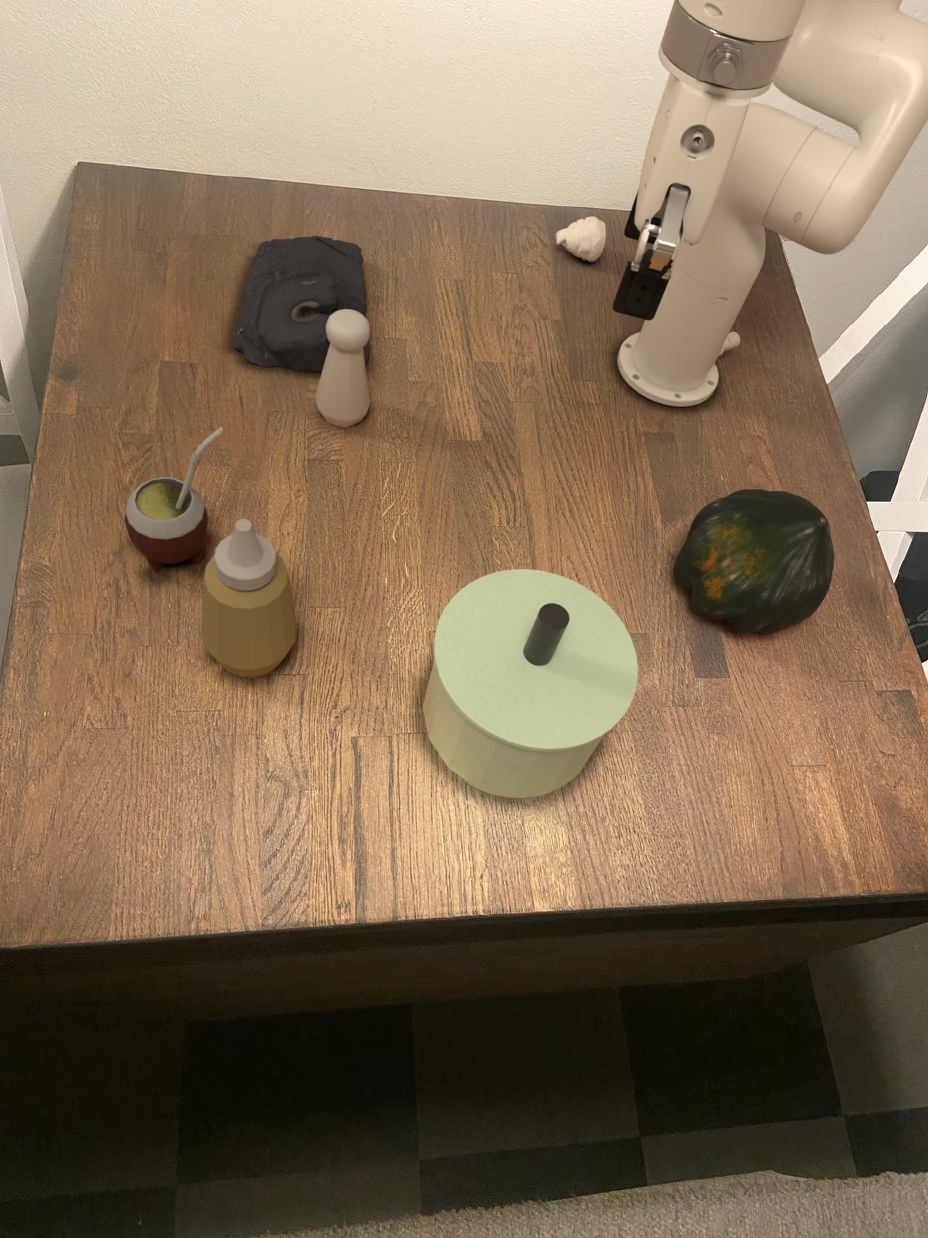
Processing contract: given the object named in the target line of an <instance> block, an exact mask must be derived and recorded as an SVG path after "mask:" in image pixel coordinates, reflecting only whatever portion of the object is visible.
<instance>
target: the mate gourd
mask: <svg viewBox="0 0 928 1238" xmlns="http://www.w3.org/2000/svg"><path fill="white" fill-rule="evenodd" d="M224 431H225V430H224V428H223V426H222V425H221V426H219V428H217V429H215V430H214V432H213V433H211V434H210V435H209V436H207V438H205V439H204V440H203V441H202V442H201V443H200V445H199V446H198V447H196V449H195V451H193V452H192V454H191V456H190V458H189V466H188V469H187V473H186V475H185V478H184V481H182V480H180V479H178V478H175V477H165V476H161V477H156V478H150V479H148V480H147V481H145V482H143V483H141V484H140V485H138V486H137V487H136V489H135V490H134V491H133V492H132V493H131V494H130V496H129V497H128V499H127V503H126V506H125V515H124V524H125V528H126V531H127V534H128V537H129V539H130V542H131V543H132V545H133V546H135V547H136V548H137V550H138V551H139V552H140V554H142V555H143V556H144V557H145V558H146V559H147V560H146V561H147V563H148V564H149V566H150V567H151V568H152V570H153V572H154V573H156V574H157V573H159V572H160V571H161V570H162V569H163V567H164V566H166V564H167V565H168V564H170V565H173V564H178V563H182V562H185V561H186V560H187V561H188V562H192V563H195V564H200V562H201V558H202V556H203V553H204V550H205V549H204V547H205V541H206V537H207V530H208V525H209V524H208V523H209V517H208V511H207V509H206V506H205V504H204V501H203V499H202V496H201V494H200V493H199V492H198V491H196V489H194V488H193V486H192V485H191V484H192V481H193V478H194V476H195V473H196V469H197V466H199V465H200V462H201V461H202V457H203V456H202V455H203V453H204V452H205V451H206V450H207V448H208V447H209V446H210V445H211V444H212V443H213V442H214V441H215V440H216V439H218V438H219V436H220V435H222V433H224Z"/></svg>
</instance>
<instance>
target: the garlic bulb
mask: <svg viewBox="0 0 928 1238" xmlns="http://www.w3.org/2000/svg"><path fill="white" fill-rule="evenodd" d="M606 237H607V230H606V224H605V222H604V221H602V220H601V219H599V218H598V217H597V216H593V215H592V216H587V217H585V218H580V219H577V220H576V221H574V222H572V223H570V224H569V225H568V227H566V228H562V229H560V230H558V231H556V233H555V238H556V242H555V243H556V245H562V246H564V248H565V250H566V251H568V252H569V253H571V254H572V255H573V256H575V257H577V258H581V260H583V261H584V262H585V261H588V262H590V263H592V262H595V261H597V260H598V259H599V258H600V257H601V255H602V254H603V252H604V248H605V245H606V240H607V239H606Z"/></svg>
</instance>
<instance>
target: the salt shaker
mask: <svg viewBox="0 0 928 1238" xmlns="http://www.w3.org/2000/svg"><path fill="white" fill-rule="evenodd" d="M326 334H327V338H328V340H329V342H330V346H329V349H328V353H327V356H326V360H325V363H324V367H323V370H322V372H321V375H320V377H319V381H318V384H317V388H316V391H315V392H316V393H315V395H314V398H315V399H314V400H315V403H316V407H317V411H318V412H319V413H320V414H321V415H322V417H323V418H324V419H325V421H326V422H327V424H329V425H333V426H335V427H340V428H341V427H342V428H344V429H347V428H349V427H351V426H355V425H356V424H357V423H360V422H362V420H363V419H364V418H365V416H367V414H368V411H369V408H370V405H371V397H370V390H369V389H370V388H369V383H368V375H367V368H366V365H365V361H364V352H363V347H364V346H365V345H366V344H367V342H368V339H369V340H370V335H371V327H370V322H369V319H368V318H367V319H366V318H365V317H364V316H363V315H362V314H361V313H359V312H357V311H355V310H350V309H343V310H338V311H336V312H334V313H333V314H331V315H330V316H329V319H328V321H327V324H326Z"/></svg>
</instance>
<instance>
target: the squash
mask: <svg viewBox="0 0 928 1238" xmlns="http://www.w3.org/2000/svg"><path fill="white" fill-rule="evenodd" d="M834 566H835V550H834V544H833V539H832V535H831V524H830V522H829V519H827V516H825V514H824V513H823V511H822V510H821V509H820V508H819V507H817V506H816V504H814V503H812V502H811V501H810V500H808V499H806V498H805V497H802V496H800V495H797V494H794V493H791V492H788V491H786V490H785V491H783V490H766V489H762V488H750V489H749V488H744V489H739V490H737V491H733V492H732V493H730V494H728V495H727V496H723V497H720V498H718V499H716V500H714V501H712V502H710V503H708V504H706V505H705V506H703V507H702V508H701V509H700V510H699V511H698V512H697V514H696V515H695V517H694V519H693V520H692V521H691V524H690V527H689V530H688V533H687V535H686V539H685V541H684V542H683V545H682V546H681V548H680V550H679V552H678V553H677V557H676V559H675V562H674V565H673V569H672V571H673V573H672V574H673V578H674V580H675V583H676V584H677V585H678V587H679V588H680V589H681V590H683V592H685V593H687V594H688V595H691V596H690V597H691V598H690V603H691V607H692V610H693V611H694V612H695V613H697V614H698V615H699V616H700V617H702V618H704V619H707V620H723V622H724V623H725V625H726V626H727V627H728V628H729V629H730V630H731V631H732V632H735V633H737V634H753V633H757V632H758V633H761V634H774V633H779V632H781V631H784V630H786V629H789V628H790V627H792V626H795V625H799V624H801V623H802V622H804V621H806V620H807V619H809V618H811V616H813V614H815V612H816V611H817V610H818V609H819V607H820V606H821V605H822V603H823V602H824V600H825V598H826V597H827V594H828V592H829V590H830V587H831V583H832V578H833V570H834Z"/></svg>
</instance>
